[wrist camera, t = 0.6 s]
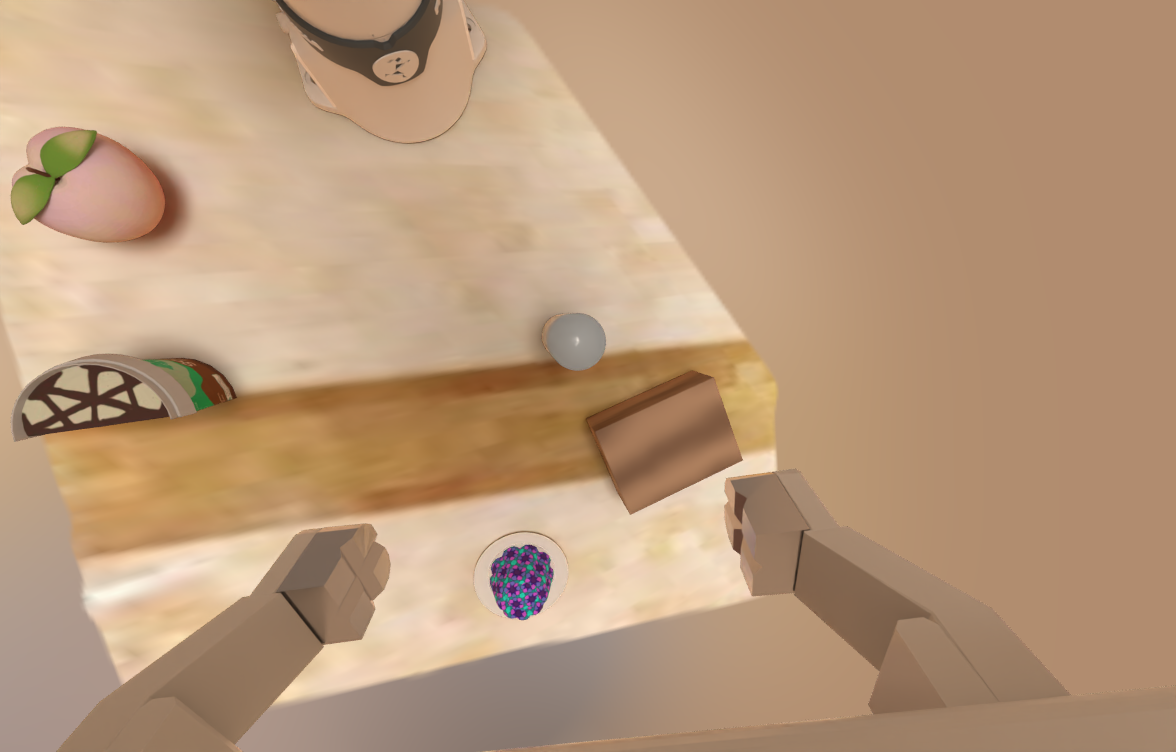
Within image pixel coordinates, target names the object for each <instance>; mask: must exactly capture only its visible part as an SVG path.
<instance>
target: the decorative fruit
mask: <svg viewBox="0 0 1176 752" xmlns="http://www.w3.org/2000/svg"><path fill="white" fill-rule="evenodd" d="M26 153H27V158H28V162H29V164H28V165H26V166H24V167H22V168H21V169H19V170H18V171H17V172H16V173H15V174H14V176H13V178H12V187H13V188H12V191H11V204H12V208H13V211H14V213H15V215H16V217H17V219H18V220H19V221H20V223H21V224H22V225H24V224H27V223H29V222H30V221H31V220H32V219H33V218H34V219H36V220H37V221H39V222H40V223H42V224H44V225H46V226H47V227H49V228H51V229H54V230H56V231H58V232H61V233H64V234H67V235H70V236H73V237H77V238H81V239H85V240H90V241H96V242H122V241H128V240H132V239H136V238H138V237H141V236H143V235H145V234H147V233H149V232H150V231H152V230H153V229H154V228H155V227H156V226H157V225H158V223H159V222H160V220H161V218H162V216H163V213H164V208H165V197H164V193H163V190H162V187H161V185H160V183H159V181H158V180H157V178H156V176H155V175H154V174H153V172H152V171H151V170H150V169H149V168H148V167H147V166H146V164H145V163H144V162H143V161H142V160H141V159H139V158H138V157H137V156H136V155H135V154H134V153H132V152H131V151H130V150H128V149H127V148H125V147H124V146H122V145H121V144H119V143H118V142H116V141H114V140H112V139H110V138H108V137H106V136H103V135H100V134H97V132H96V131H95V130H83V129H78V128H72V127H56V128H50V129H46V130H44V131H42V132H40V133H38V134H37V135H35V136H34V137H33V138H32V139H31V140H29V142H28V144H27V149H26Z"/></svg>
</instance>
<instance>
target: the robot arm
mask: <svg viewBox="0 0 1176 752" xmlns="http://www.w3.org/2000/svg"><path fill="white" fill-rule="evenodd" d="M272 1H275V2H276V3H277V4H278V7H279V8H280V10H281V11H282V12H279V13H276V18H277V21H278V23H279V25H280V27H281V29H282V30H283V32H284V33H289V37H290V40H291V45H290V46H291V49H292V51H293V53H294V54H295V57H296V61H297V64H298V68H299V71H300V75H301V78H302V82H303V85H304V89H305V92H306V94H307V96H308V98H309V99H310V101H311V102H312V103H313V104H314V105H315V106H316V107H318V108H320V109H322V110H325V111H328V112H332V113H336V114H340V115H343V116H345V117H347V118H349V119H350V120H352V121H353V122H355V123H356V124H358V125H359V126H360V127H362V128H363V129H365V130H366V131H368V132H370V133H372V134H374V135H376V136H378V137H381V138H383V139H386V140H390V141H394V142H401V143H415V142H422V141H426V140H429V139H432V138H435V137H437V136H439V135H441V134H442V133H444V132H445V131H447V130H448V129H449V128H450V127H451V126H452V125H453V124H454V123H455V122H456V121H457V120H458V119H459V117H460V116H461V114H462V113H463V111H464V109H465V107H466V105H467V102H468V99H469V96H470V91H471V84H472V78H473V73H474V70H475V68H476V67H477V65H478V64H479V62H480V61H481V59H482V57H483V56H484V54H485V51H486V47H487V44H486V39H485V36H484V33H483V31H482V30H481V28H480V26H479V25H478V23H477V21H476V20H475V18H474V16H473V15H472V13H471V11H470V10H469V8H468V7H467V5H466V3H465V2H464V0H272ZM468 28H470V29H471V31H470V32H469V30H468ZM314 82H315V83H316V84H314ZM725 494H726V496H727V498H728V502H727V504H726V505H725V506H724V514H725V523H726V529H727V533H728V536H729V540H730V542H731V545H732V547H733V550H735V551H736V552H737V553H739V554H740V555H741V561H740V568H741V570H742V573H743V575H744V578H745V580H746V583H747V585H748V588H749V590H750V593H751V595H752V596H762V595H773V594H786V593H794V595H795V596H796V597H797V598H798V599H799V600H800V601H801V602H803V603H804V604H805V605H806V606H807V607H808V608H809V609H810V610H812V611H813V612H814V613H815V614H816V615H817V616H818V617H819V618H820V619H821V620H823V621H824V622H825V623H826V624H827V625H828V626H829V627H830V628H832V629H833V630H834V631H835V632H836V633H837V634H838V635H839V636H840V637H842V638H843V639H844V640H845V641H846V642H847V643H848V644H849V645H851V646H852V647H853V648H854V649H855V650H856V651H857V652H858V653H859V654H861V655H862V656H863V657H864V658H865V659H866V660H867V661H868V662H869V663H871V664H872V665H873V666H874V667H875V668H876V669H877V670H879V671H880V672H879V675H878V678H877V681H876V684H875V687H874V689H873V692H872V695H871V698H870V701H869V703H868V705H869V707H870V709H871V711H872V713H873V715H862V716H851V717H840V718H830V719H821V720H820V719H819V720H809V721H798V722H788V723H778V724H767V725H756V726H746V727H735V728H724V729H714V730H704V731H694V732H682V733H672V734H661V735H651V736H640V737H630V738H619V739H608V740H599V741H587V742H577V743H566V744H556V745H546V746H535V747H524V748H514V749H503V750H492V751H482V752H1176V686H1165V687H1155V688H1144V689H1134V690H1124V691H1114V692H1102V693H1092V694H1081V695H1071V694H1069V692H1068V691H1067V690H1066V689H1065V688H1064V687H1063V686H1062V684H1061V683H1060V682H1059V681H1058V680H1057V679H1056V678H1055V677H1054V676H1053V675H1052V673H1051V672H1050V671H1049V670H1048V669H1047V668H1046V667H1045V666H1044V665H1043V664H1042V662H1041V661H1040V660H1039V659H1038V658H1037V657H1036V656H1035V655H1034V654H1033V653H1032V651H1031V650H1030V649H1029V648H1028V647H1027V646H1026V645H1025V644H1024V643H1023V642H1022V640H1020V638H1019V637H1018V636H1017V635H1016V634H1015V633H1014V632H1013V631H1012V629H1011V628H1010V627H1008V625H1007V624H1006V623H1005V622H1004V621H1003V620H1002V619H1001V617H1000V616H999V615H998V614H997V613H996V612H995V611H994V610H993V609H992V608H991V607H989V606H987V605H986V604H984V603H982V602H980V601H979V600H977V599H975V598H973V597H971V596H970V595H968V594H966V593H964V592H963V591H961V590H959V589H957V588H956V587H953V586H952V585H950V584H948V583H947V582H945V581H943V580H941V579H940V578H938V577H936V576H934V575H933V574H931V573H929V572H927V571H926V570H924V569H922V568H920V567H918V566H917V565H915V564H913V563H911V562H910V561H908V560H906V559H904V558H902V557H901V556H899V555H897V554H895V553H894V552H892V551H890V550H888V549H887V548H885V547H883V546H881V545H880V544H878V543H876V542H874V541H872V540H871V539H869V538H867V537H865V536H864V535H862V534H860V533H858V532H856V531H854V530H853V529H851V528H850V527H848V526H845V527H839V525H838V524H837V523H836V521H835V520H834V518H833V517H832V515H831V514H830V513H829V511H828V510H827V508H826V507H825V506H824V504H823V503H822V501H821V500H820V499H819V497H818V496H817V495H816V493H815V492H814V490H813V489H812V487H811V486H810V485H809V483H808V482H807V480H806V479H805V478H804V476H803V475H802V473H801V472H800V471H799V470H797V469H790V470H783V471H775V472H772V473H771V472H768V473H761V474H753V475H746V476H739V477H731V478H726V481H725ZM376 537H377V533H376V531H375V530H374V528H373V527H372V525H371V524H355V525H345V526H335V527H325V528H319V529H309V530H303V531H301V532H299V533H298V534H296V535H295V536H294V537H293V539H292V540H291V542H290V543H289V544H288V546H287V547H286V548H285V550H284V551H283V552H282V554H281V555H280V556H279V558H278V559H277V560H276V562H275V563H274V564H273V566H272V567H271V568H270V570H269V571H268V572H267V574H266V575H265V576H264V578H263V579H262V580H261V582H260V583H259V584H258V586H257V587H256V588H255V590H254V591H253V592H252V594H251V595H250V596H247V597H242V598H241V599H240V600H238V601H237V602H235V603H234V604H233V605H231V606H230V607H229V608H227V609H226V610H225V611H223V612H222V613H220V614H219V615H218V616H216V617H215V618H214V619H212V620H211V621H209V622H208V623H207V624H205V625H204V626H203V627H201V628H200V629H199V630H197V631H196V632H194V633H193V634H192V635H190V636H189V637H188V638H186V639H185V640H183V641H182V642H181V643H179V644H178V645H177V646H175V647H174V648H173V649H171V650H170V651H168V652H167V653H166V654H164V655H163V656H162V657H160V658H159V659H158V660H156V661H155V662H153V663H152V664H151V665H149V666H148V667H147V668H145V669H144V670H142V671H141V672H140V673H138V674H137V675H136V676H134V677H133V678H132V679H130V680H129V681H127V682H126V683H125V684H123V685H122V686H121V687H119V688H118V689H117V690H115V691H114V692H112V693H111V694H110V695H108V696H107V697H106V698H104V699H103V700H101V701H100V702H99V703H98V704H97V705H96V707H95V708H94V709H93V710H92V711H91V712H90V713H89V715H88V716H87V717H86V718H85V719H84V720H83V721H82V723H81V724H80V725H79V726H78V727H77V728H76V729H75V731H74V732H73V733H72V734H71V735H70V736H69V738H68V739H67V740H66V741H65V742H64V743H63V745H62V746H61V747H60V748H59V749H58V750H57V751H56V752H243V751H241V750H240V749H239V748H238V747H236V746H235V744H236V743H237V741H238V740H239V739H240V738H241V737H242V736H243V735H244V734H245V733H246V731H248V729H249V728H250V727H251V726H252V725H253V724H254V723H255V722H256V720H258V718H259V717H260V716H261V715H262V714H263V713H264V712H265V711H266V710H267V709H268V708H269V706H270V705H271V704H272V703H273V702H274V701H275V700H276V699H277V698H278V697H279V696H280V694H281V693H282V692H283V691H284V690H285V689H286V688H287V687H288V686H289V685H290V683H291V682H292V681H293V680H294V679H295V678H296V677H297V676H298V675H299V674H300V673H301V671H302V670H303V669H304V668H305V667H306V666H307V665H308V664H309V663H310V662H311V661H312V659H313V658H314V657H315V656H316V655H317V654H318V653H319V652H320V651H321V650H322V648H323V647H324V646H323V645H326V644H333V643H340V642H347V641H354V640H361V639H362V638H363V636H364V633H365V631H366V629H367V627H368V624H369V622H370V620H371V618H372V616H373V613H374V611H375V606H374V602H373V600H374V599H375V598H376V597H377V596H378V595H379V594H380V593H381V592H382V591H383V590H384V588H385V586H386V584H387V581H388V579H389V573H390V565H391V564H390V559H389V554H388V552H387V551H386V549H385V547H383V546H382V545H380V544H378V543H376V542H375V539H376Z"/></svg>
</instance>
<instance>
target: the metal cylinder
mask: <svg viewBox="0 0 1176 752" xmlns="http://www.w3.org/2000/svg"><path fill="white" fill-rule="evenodd" d="M542 342H543V345H544V347H545V349H546V350H547V351H548V352H549V353H550V354H551V356H552V357H553V358H554V359H555V360H556V361H557V362H558V363H559V364H560V365H561V366H563V367H565V368H567V369H570V370H577V371H578V370H585V369H588V368H590V367H592V366H593V365H595V364H596V363H597V362H598V361H599V360H600V358H601V357H602V355H603V353H604V350H605V346H606V337H605V333H604V330H603V328H602V327H601V325H600V324H599V323H598V322H597V321H596V320H595V319H594V318H592V317H591V316H589V315H586V314H580V313H570V314H558V315H555V316H553V317H552V318H550V319H549V320H548V321H547V322H546V324H545V325H544V328H543V330H542Z"/></svg>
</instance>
